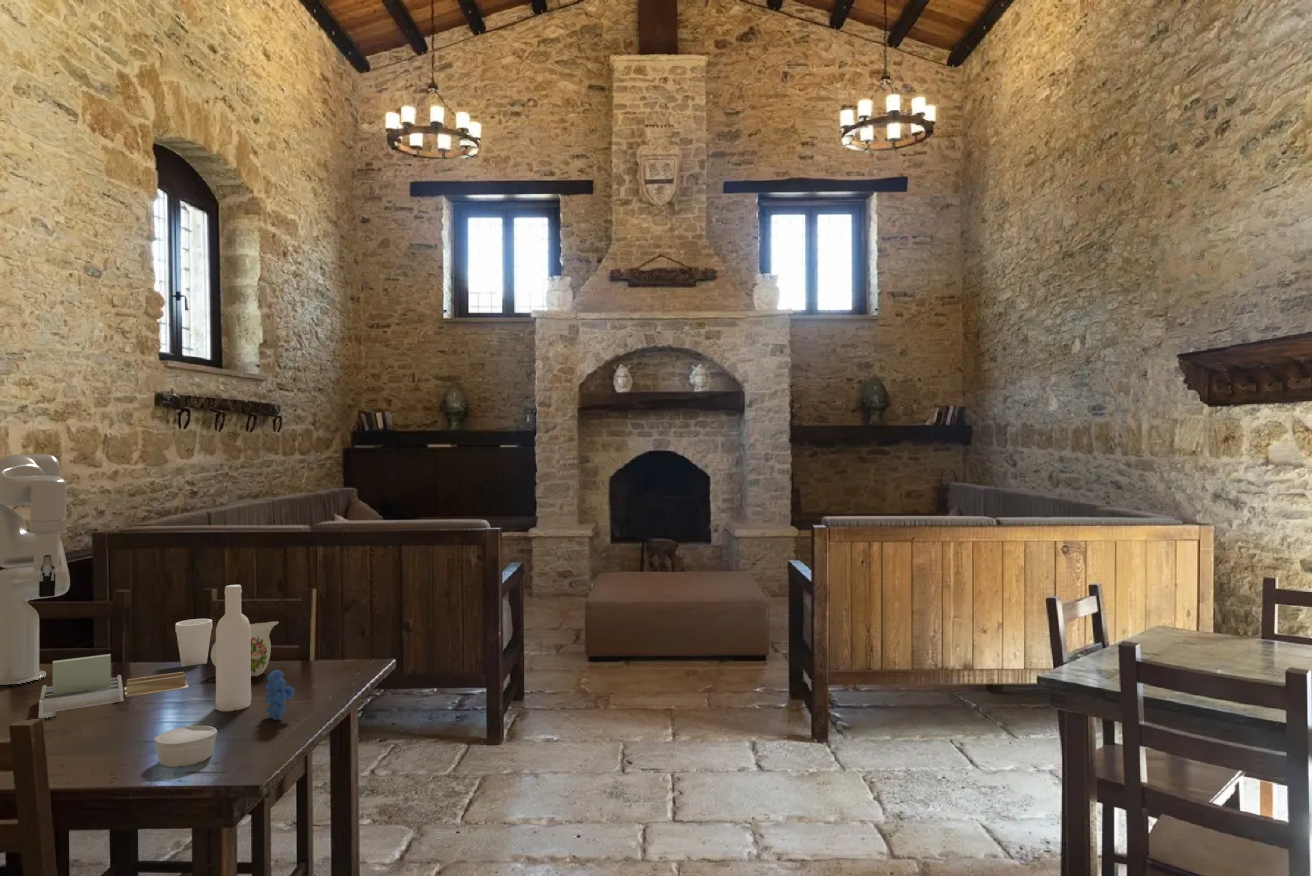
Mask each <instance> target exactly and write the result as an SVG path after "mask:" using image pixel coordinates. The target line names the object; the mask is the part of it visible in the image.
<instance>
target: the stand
mask: <svg viewBox="0 0 1312 876" xmlns="http://www.w3.org/2000/svg"><path fill="white" fill-rule="evenodd" d="M186 678H187V677H186V674H185V671H179V672H172V673H163V674H158V675H151V676H143V677H136V678H128V679H126V686H125V687H123V691H124V696H125V697H126V698H127V697H133V696H142V695H146V694H147V695H148V694H153V693H160V692H168V691H174V690H181V689H187V688H189V684H188V682H187V679H186Z"/></svg>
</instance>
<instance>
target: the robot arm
mask: <svg viewBox="0 0 1312 876" xmlns="http://www.w3.org/2000/svg"><path fill="white" fill-rule="evenodd" d="M60 475H61V465H60V462H59V460H58V459H57V458H56V457H55V456H54V455H53V454H52V455H51V454H48V453H47V454H46V453H45V454H44V453H42V454H41V453H40V454H39V453H35V454H34V453H33V454H10V455H6V456H4V457H2V458H0V567H1V568H3V569H1V570H0V685H9V684H20V685H22V684H21V683H25V684H27V683H26V682H30V681H33V680H38V681H40V680H42V679H41V678H43V677H44V678H46V676H47V672H46V671H44V670H40V614H39V613H38V611H37V610H36V609H35V607H33V606H32V605H31V604H29V601H33V600H38V599H47V598H54V597H59V596H62V595H65V594H66V593H67V592H68V591H69V589H70V586H71V579H70V570H69V567H68V562H67V558H66V553H65V548H64V545H63V542H62V539H61V533H66V532H67V498H68V497H67V495H68V494H67V493H68V491H67V490H68V489H67V487H68V485H67V481H66V480H65V479H63V478H62V477H61V476H60ZM10 506H11V507H13V506H14V507H16V506H18V507H19V506H29V507H30V509H29V512H30V513H29V531H28V530H27V524H26V520H25V518H24V517H23V516H22V515H21V514H19V513H18V512H17V511H15V510H14V509H12V508H10ZM44 678H43V679H44ZM39 679H40V680H39ZM30 683H31V682H30Z"/></svg>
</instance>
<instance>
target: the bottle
mask: <svg viewBox="0 0 1312 876" xmlns="http://www.w3.org/2000/svg"><path fill="white" fill-rule="evenodd" d="M242 593H243V590H242V585H241V584H230V585H226V586H225V587H224V611H225V612H224V615H223V616H222V617H221V618H220V619H219V620H218V622H217V624H216V628H215V643H216V666H215V710H216V711H219V712H234V710H236V711H240V710H243V709H247V708H248V707H250V706H251V705H252V687H251V686H252V684H251V683H252V682H251V681H252V680H251V678H252V677H251V626H250V624H251V623H250V620H249V618H248V617H247V616H246V615H245V614H243V613H242Z"/></svg>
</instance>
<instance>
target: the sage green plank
mask: <svg viewBox="0 0 1312 876" xmlns="http://www.w3.org/2000/svg"><path fill="white" fill-rule="evenodd" d="M111 655H112V654H111V653H108V654H99V655H91V656H84V657H83V656H82V657H76V658H75V657H74V658H67V659H60V660H53V661H52V687H53V694H56V693H63V692H70V691H77V690H84V689H91V688H98V687H105V686H111V678H112V676H111V675H112V674H111V673H112V671H111V670H112V666H111V665H112V662H111V661H112V657H111Z"/></svg>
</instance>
